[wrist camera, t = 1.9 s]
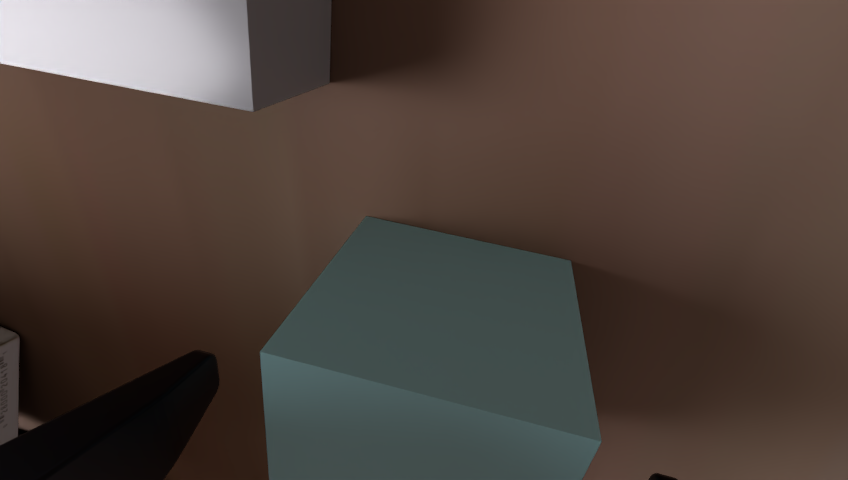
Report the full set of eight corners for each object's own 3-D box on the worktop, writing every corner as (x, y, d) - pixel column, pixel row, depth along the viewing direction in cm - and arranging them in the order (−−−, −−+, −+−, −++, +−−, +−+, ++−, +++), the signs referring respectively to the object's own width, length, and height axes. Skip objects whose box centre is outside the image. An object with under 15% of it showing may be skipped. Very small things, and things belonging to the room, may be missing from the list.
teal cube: (519, 403, 13) (515, 608, 8) (355, 361, 13) (272, 531, 9) (570, 258, 10) (602, 441, 6) (367, 215, 11) (260, 351, 6)
